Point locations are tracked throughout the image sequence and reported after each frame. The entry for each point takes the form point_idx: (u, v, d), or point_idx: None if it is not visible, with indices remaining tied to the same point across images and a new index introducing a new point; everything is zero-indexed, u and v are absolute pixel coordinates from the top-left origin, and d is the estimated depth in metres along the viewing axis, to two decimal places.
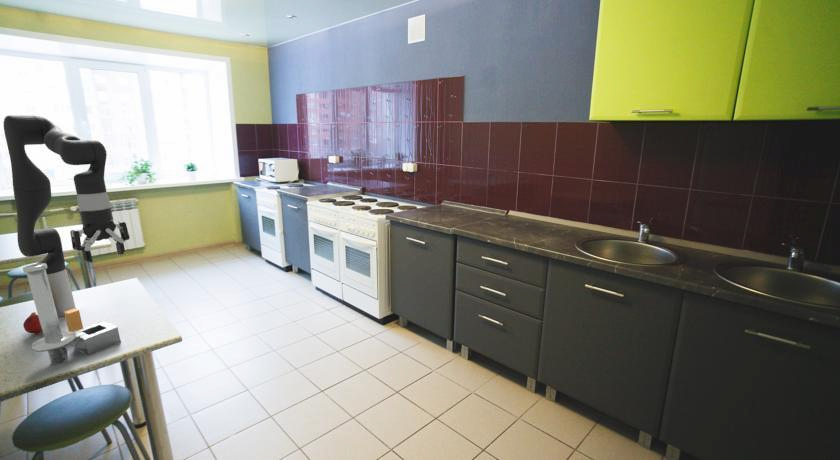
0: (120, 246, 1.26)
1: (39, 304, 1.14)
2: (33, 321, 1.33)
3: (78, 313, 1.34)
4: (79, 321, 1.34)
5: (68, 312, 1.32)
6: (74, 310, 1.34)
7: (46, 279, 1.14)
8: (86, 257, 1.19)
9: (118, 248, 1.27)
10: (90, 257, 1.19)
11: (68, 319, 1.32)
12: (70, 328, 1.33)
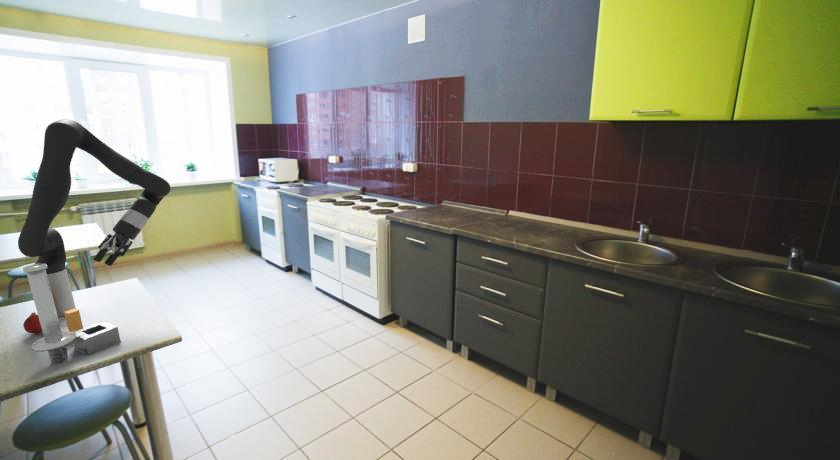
0: (104, 255, 1.43)
1: (39, 304, 1.14)
2: (33, 321, 1.33)
3: (78, 313, 1.34)
4: (79, 321, 1.34)
5: (68, 312, 1.32)
6: (74, 310, 1.34)
7: (46, 279, 1.14)
8: None
9: (100, 256, 1.42)
10: None
11: (68, 319, 1.32)
12: (70, 328, 1.33)
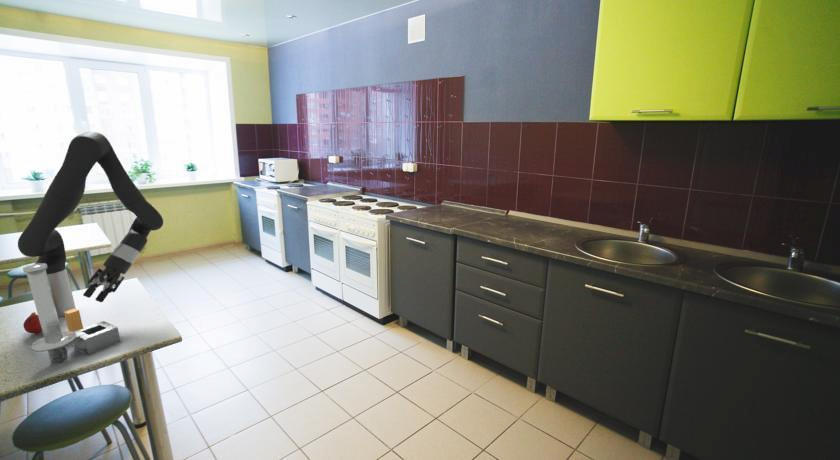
0: (94, 290, 1.42)
1: (39, 304, 1.14)
2: (33, 321, 1.33)
3: (78, 313, 1.34)
4: (79, 321, 1.34)
5: (68, 312, 1.32)
6: (74, 310, 1.34)
7: (46, 279, 1.14)
8: None
9: (90, 291, 1.41)
10: None
11: (68, 319, 1.32)
12: (70, 328, 1.33)
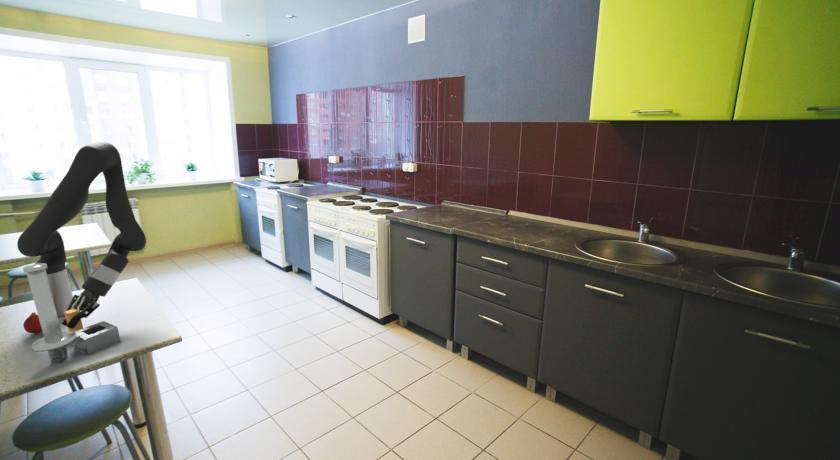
0: None
1: (39, 304, 1.14)
2: (33, 321, 1.33)
3: None
4: (79, 321, 1.34)
5: (68, 312, 1.32)
6: (74, 310, 1.34)
7: (46, 279, 1.14)
8: None
9: None
10: None
11: (68, 319, 1.32)
12: (70, 328, 1.33)
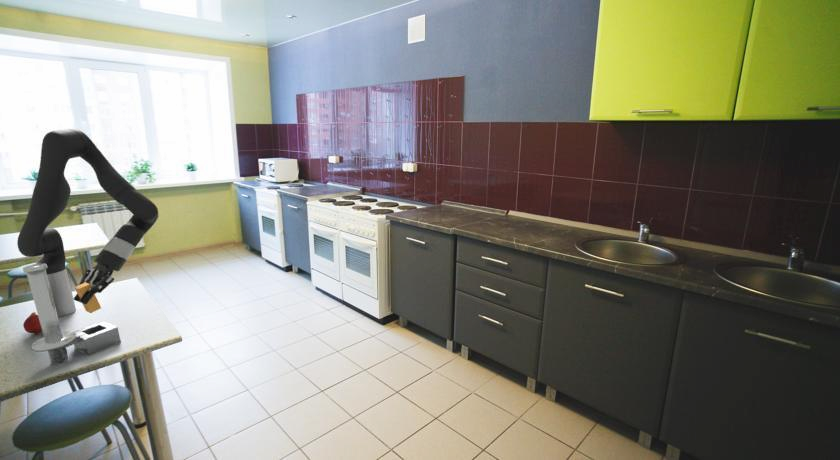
0: None
1: (39, 304, 1.14)
2: (33, 321, 1.33)
3: None
4: None
5: (79, 287, 1.23)
6: (85, 284, 1.24)
7: (46, 279, 1.14)
8: None
9: None
10: None
11: (80, 294, 1.23)
12: None
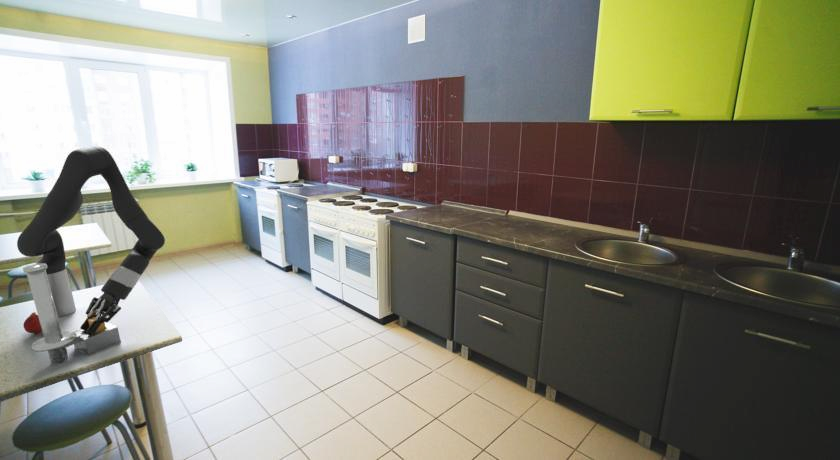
0: None
1: (39, 304, 1.14)
2: (33, 321, 1.33)
3: None
4: (103, 329, 1.29)
5: (92, 320, 1.27)
6: None
7: (46, 279, 1.14)
8: None
9: (88, 324, 1.27)
10: None
11: None
12: None
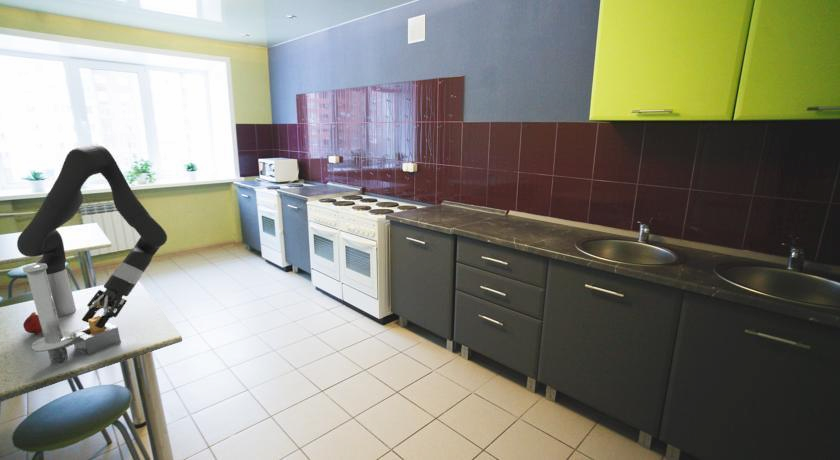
0: (94, 314, 1.31)
1: (39, 304, 1.14)
2: (33, 321, 1.33)
3: None
4: (103, 329, 1.29)
5: (92, 320, 1.27)
6: (98, 318, 1.28)
7: (46, 279, 1.14)
8: None
9: (89, 315, 1.30)
10: None
11: (92, 327, 1.27)
12: None
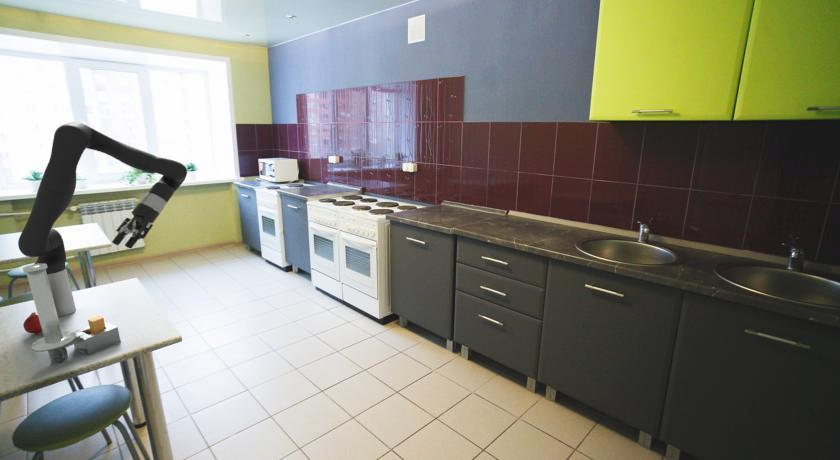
0: (122, 238, 1.43)
1: (39, 304, 1.14)
2: (33, 321, 1.33)
3: (102, 321, 1.28)
4: (103, 329, 1.29)
5: (92, 320, 1.27)
6: (98, 318, 1.28)
7: (46, 279, 1.14)
8: None
9: (119, 239, 1.42)
10: None
11: (92, 327, 1.27)
12: None
